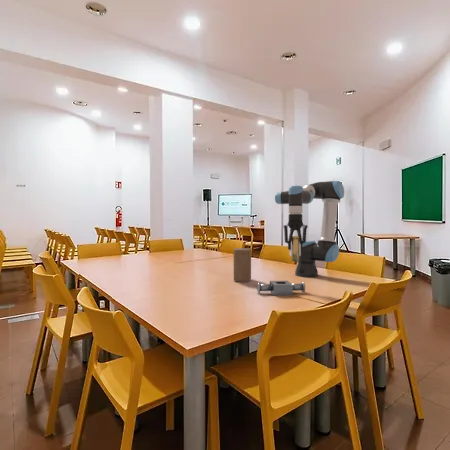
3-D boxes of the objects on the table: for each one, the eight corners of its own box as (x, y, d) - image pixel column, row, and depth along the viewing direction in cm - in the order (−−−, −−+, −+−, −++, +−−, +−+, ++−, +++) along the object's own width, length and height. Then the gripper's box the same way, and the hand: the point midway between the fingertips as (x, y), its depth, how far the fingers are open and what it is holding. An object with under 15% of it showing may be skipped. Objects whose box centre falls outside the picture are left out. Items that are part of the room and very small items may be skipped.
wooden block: (249, 282, 191) (249, 250, 190) (233, 281, 193) (233, 249, 192) (251, 278, 201) (251, 248, 200) (236, 278, 203) (235, 247, 202)
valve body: (300, 290, 171) (300, 280, 171) (306, 295, 161) (306, 284, 161) (256, 291, 170) (256, 280, 170) (259, 295, 160) (259, 285, 160)
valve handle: (297, 260, 176) (298, 235, 175) (300, 261, 171) (300, 236, 171) (289, 260, 176) (290, 236, 175) (292, 261, 171) (292, 236, 171)
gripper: (308, 213, 177) (307, 254, 178) (278, 213, 176) (278, 254, 177) (312, 213, 169) (312, 256, 170) (282, 213, 168) (281, 256, 169)
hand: (295, 255), depth 173 cm, fingers closed on valve handle, 4 cm apart
